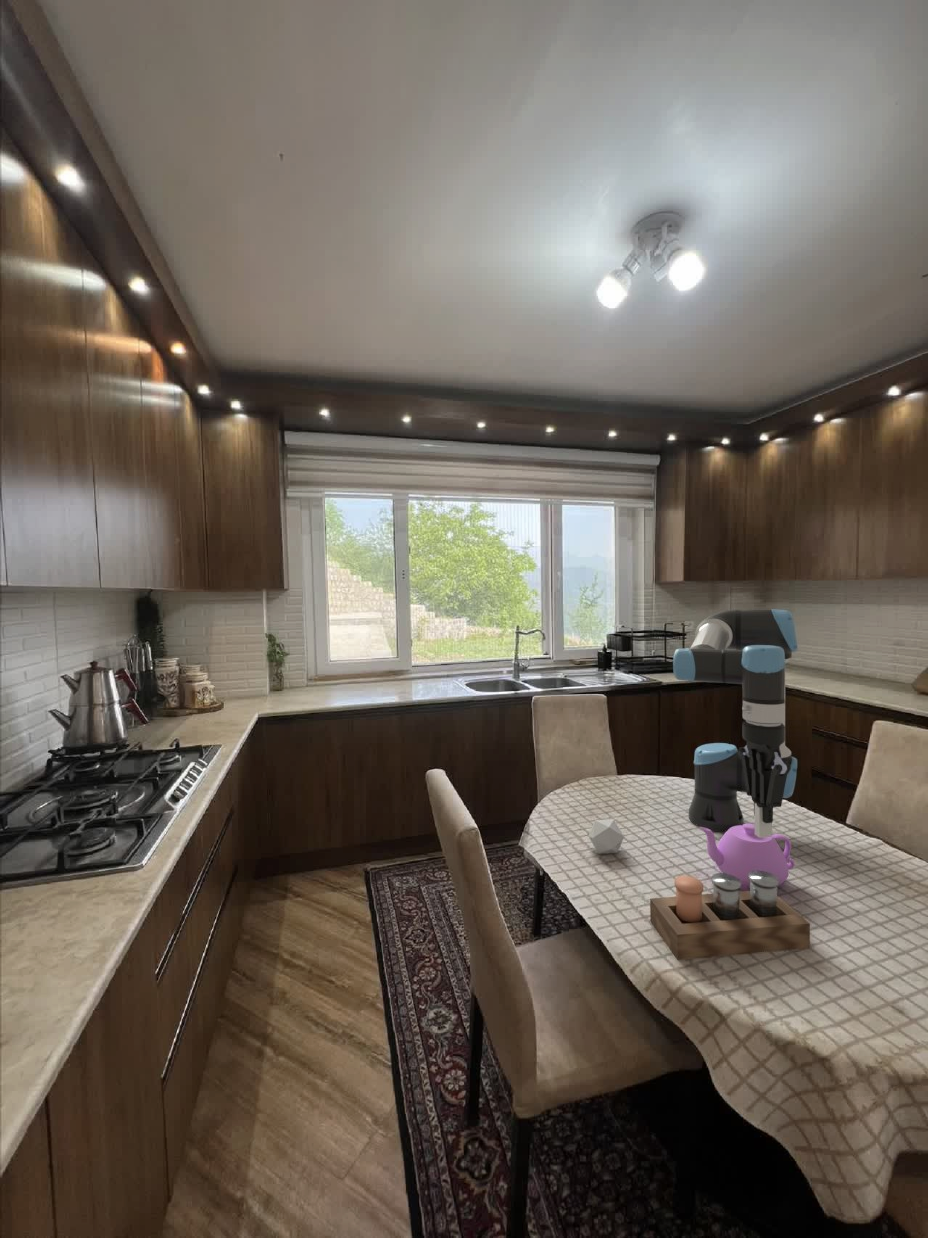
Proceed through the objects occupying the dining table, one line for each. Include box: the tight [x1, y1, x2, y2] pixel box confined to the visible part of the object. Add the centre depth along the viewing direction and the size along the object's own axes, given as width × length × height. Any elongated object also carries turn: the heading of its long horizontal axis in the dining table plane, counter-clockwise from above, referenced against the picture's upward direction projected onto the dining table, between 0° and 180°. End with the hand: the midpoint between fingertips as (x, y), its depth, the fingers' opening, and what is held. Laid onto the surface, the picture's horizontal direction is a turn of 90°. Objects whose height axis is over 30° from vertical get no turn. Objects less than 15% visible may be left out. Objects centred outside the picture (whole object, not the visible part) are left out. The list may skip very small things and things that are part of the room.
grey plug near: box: [748, 870, 780, 917], centre depth 108 cm, size 5×5×7 cm
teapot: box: [699, 822, 795, 893], centre depth 127 cm, size 22×16×14 cm
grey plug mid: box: [711, 872, 741, 920], centre depth 107 cm, size 5×5×7 cm
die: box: [588, 819, 625, 855], centre depth 143 cm, size 8×9×10 cm
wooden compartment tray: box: [649, 890, 811, 961], centre depth 108 cm, size 27×12×5 cm, turn 95°
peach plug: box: [674, 875, 704, 923], centre depth 107 cm, size 5×5×7 cm
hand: (763, 835), depth 107 cm, fingers closed
